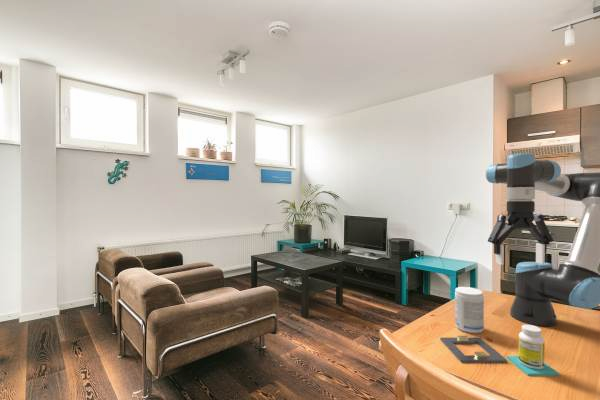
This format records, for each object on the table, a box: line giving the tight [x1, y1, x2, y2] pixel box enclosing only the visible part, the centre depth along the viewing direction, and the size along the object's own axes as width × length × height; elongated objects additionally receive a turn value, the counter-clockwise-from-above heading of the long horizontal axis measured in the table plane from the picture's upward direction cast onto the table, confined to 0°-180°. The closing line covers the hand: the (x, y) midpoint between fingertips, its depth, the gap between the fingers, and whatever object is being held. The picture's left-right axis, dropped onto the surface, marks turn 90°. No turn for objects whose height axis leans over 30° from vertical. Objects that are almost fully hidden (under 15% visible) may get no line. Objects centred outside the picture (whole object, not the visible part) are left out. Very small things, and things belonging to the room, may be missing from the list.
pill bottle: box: [518, 324, 546, 369], centre depth 90 cm, size 6×6×11 cm
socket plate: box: [439, 335, 508, 363], centre depth 99 cm, size 14×14×2 cm
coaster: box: [505, 355, 561, 377], centre depth 90 cm, size 9×9×1 cm
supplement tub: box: [454, 286, 485, 334], centre depth 115 cm, size 10×10×15 cm
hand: (519, 263), depth 101 cm, fingers open, 13 cm apart
